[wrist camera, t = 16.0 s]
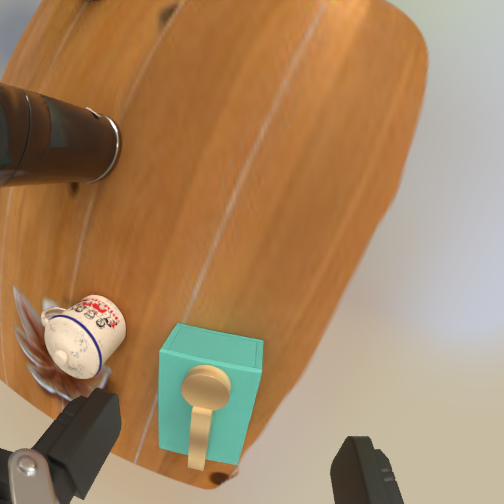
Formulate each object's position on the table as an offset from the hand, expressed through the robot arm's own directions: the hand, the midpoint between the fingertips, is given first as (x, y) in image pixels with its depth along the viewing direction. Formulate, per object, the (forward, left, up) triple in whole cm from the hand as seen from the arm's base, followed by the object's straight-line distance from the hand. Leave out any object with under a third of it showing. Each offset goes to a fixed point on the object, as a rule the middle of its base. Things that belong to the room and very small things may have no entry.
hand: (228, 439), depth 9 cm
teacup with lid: (-22, -14, -28) cm, 38 cm away
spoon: (-3, -20, -20) cm, 29 cm away
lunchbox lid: (-3, -20, -21) cm, 30 cm away
